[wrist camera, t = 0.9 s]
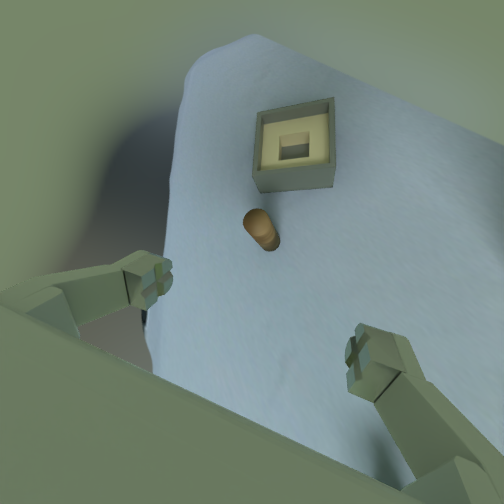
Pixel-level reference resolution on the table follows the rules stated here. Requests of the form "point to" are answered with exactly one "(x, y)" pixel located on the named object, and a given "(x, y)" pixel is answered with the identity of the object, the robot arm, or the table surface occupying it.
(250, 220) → the peg
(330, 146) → the bore box
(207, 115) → the table surface
